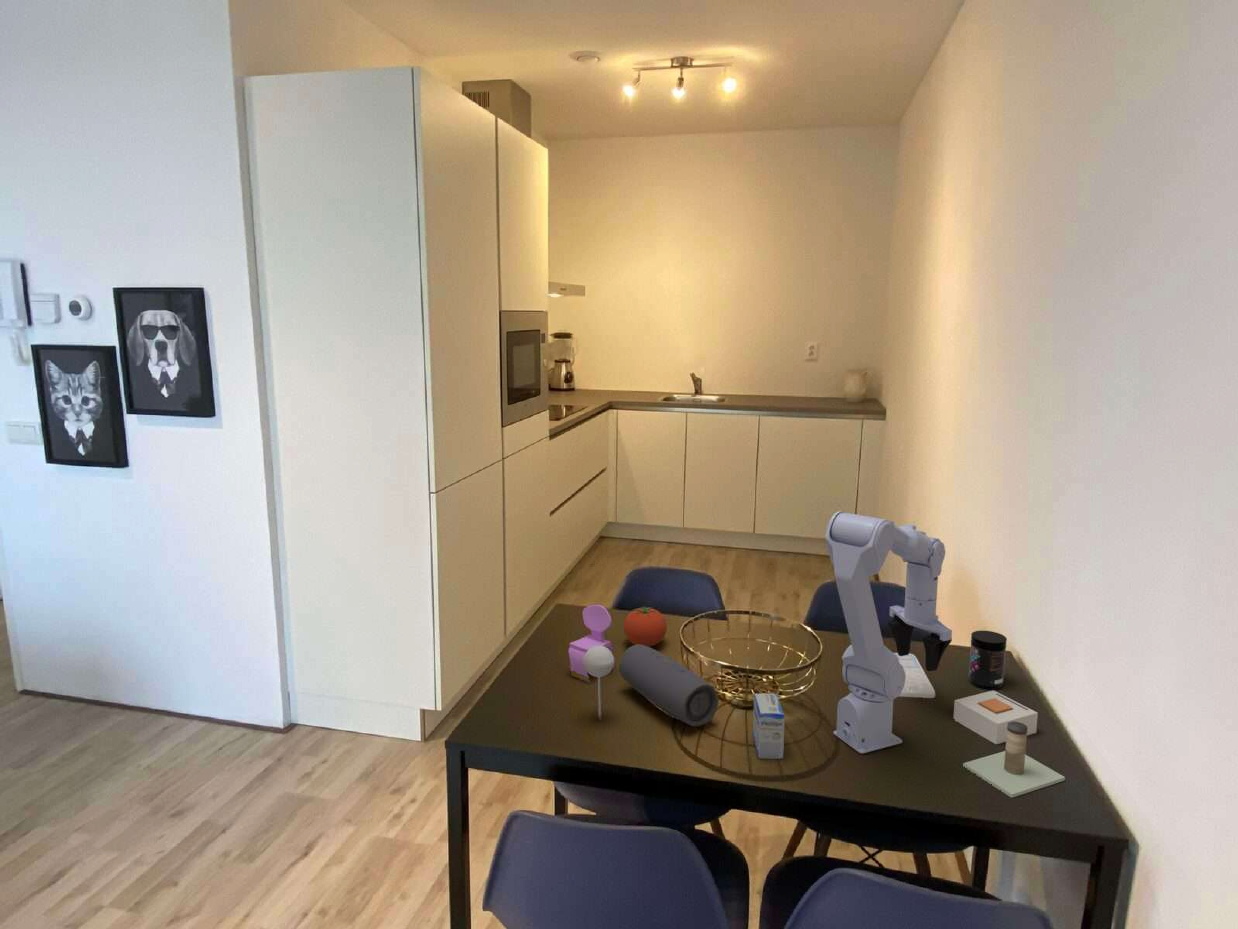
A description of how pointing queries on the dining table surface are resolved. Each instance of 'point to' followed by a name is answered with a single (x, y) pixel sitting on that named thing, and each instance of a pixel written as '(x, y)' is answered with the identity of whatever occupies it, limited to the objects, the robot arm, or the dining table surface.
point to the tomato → (645, 626)
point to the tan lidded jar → (1015, 748)
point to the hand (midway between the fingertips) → (917, 662)
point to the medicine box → (768, 726)
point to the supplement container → (987, 659)
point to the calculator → (915, 678)
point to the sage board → (1010, 783)
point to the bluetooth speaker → (669, 685)
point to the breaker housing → (992, 716)
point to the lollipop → (598, 665)
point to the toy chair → (590, 637)
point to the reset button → (995, 706)
